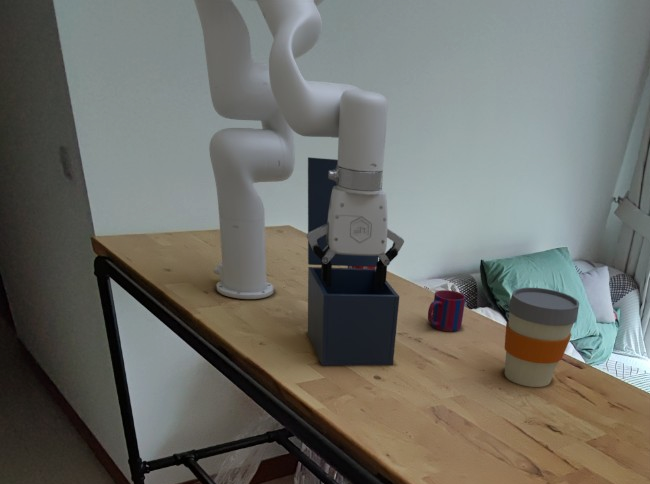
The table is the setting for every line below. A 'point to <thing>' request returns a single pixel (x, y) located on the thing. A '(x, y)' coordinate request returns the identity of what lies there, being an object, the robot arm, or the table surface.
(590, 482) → the table surface
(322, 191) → the chest lid
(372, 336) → the chest
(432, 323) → the cup
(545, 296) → the reusable coffee cup
